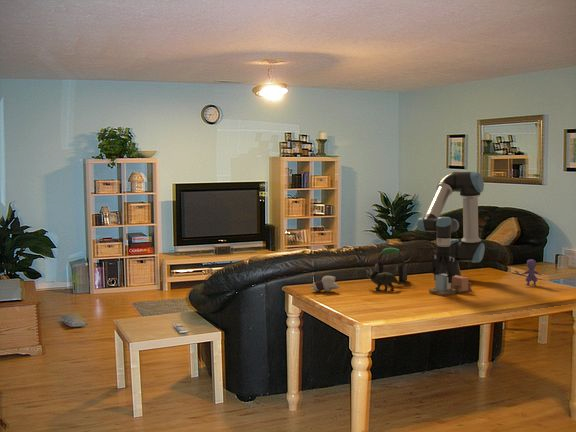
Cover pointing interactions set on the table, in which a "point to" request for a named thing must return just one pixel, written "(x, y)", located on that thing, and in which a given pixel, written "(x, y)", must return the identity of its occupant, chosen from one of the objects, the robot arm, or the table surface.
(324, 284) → the toy
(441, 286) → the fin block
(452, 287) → the pink slab with ridge
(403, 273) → the headphones
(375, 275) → the dinosaur figurine
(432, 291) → the jig
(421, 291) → the table surface
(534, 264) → the toy
